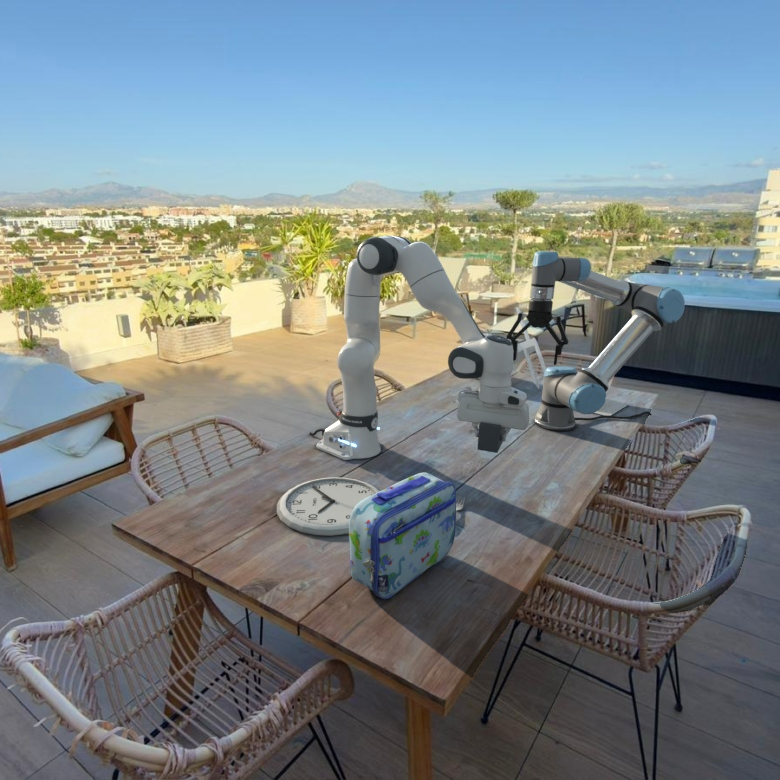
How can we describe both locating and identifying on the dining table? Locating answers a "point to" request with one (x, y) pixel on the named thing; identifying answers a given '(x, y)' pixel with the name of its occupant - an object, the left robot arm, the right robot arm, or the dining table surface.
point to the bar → (490, 437)
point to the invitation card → (610, 408)
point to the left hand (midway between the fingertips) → (490, 438)
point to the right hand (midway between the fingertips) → (534, 361)
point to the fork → (459, 506)
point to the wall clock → (323, 505)
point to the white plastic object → (528, 351)
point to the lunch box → (401, 532)
